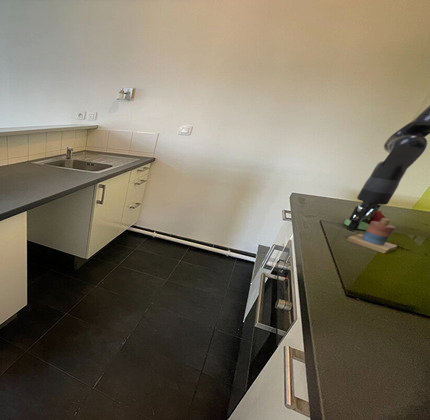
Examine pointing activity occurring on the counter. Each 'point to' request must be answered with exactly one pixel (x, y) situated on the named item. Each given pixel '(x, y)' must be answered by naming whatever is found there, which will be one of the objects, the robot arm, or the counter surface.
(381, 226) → the stand
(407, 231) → the counter surface
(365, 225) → the ring
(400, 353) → the counter surface
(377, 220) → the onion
